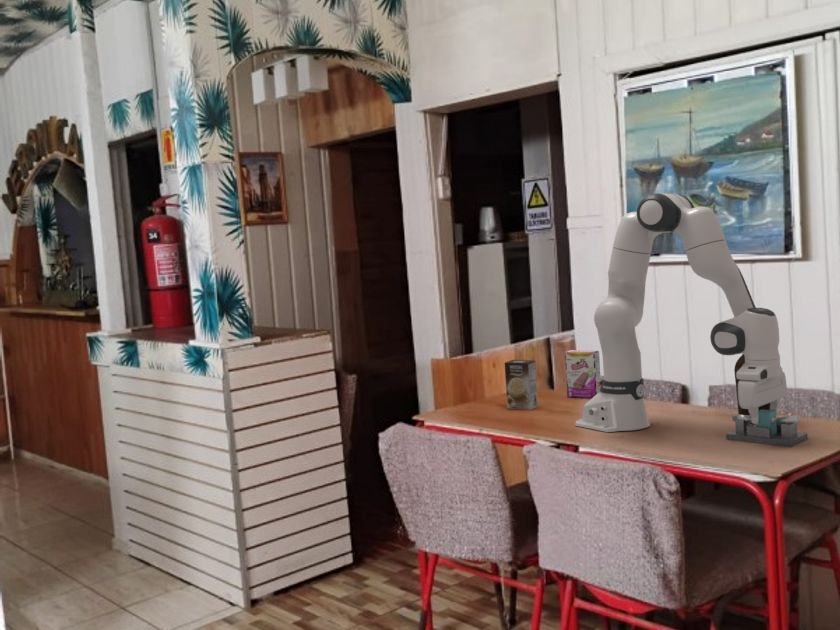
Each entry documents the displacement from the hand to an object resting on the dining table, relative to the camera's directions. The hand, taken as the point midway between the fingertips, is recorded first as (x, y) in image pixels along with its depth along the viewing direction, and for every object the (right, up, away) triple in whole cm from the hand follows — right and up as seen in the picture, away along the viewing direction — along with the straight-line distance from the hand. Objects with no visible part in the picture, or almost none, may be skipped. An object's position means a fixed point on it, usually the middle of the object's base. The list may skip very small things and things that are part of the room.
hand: (764, 419), depth 252 cm
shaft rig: (+1, -5, 0) cm, 5 cm away
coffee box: (-57, -4, +68) cm, 89 cm away
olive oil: (+5, -3, +21) cm, 22 cm away
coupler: (+1, -4, 0) cm, 4 cm away
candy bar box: (-34, -1, +79) cm, 86 cm away
